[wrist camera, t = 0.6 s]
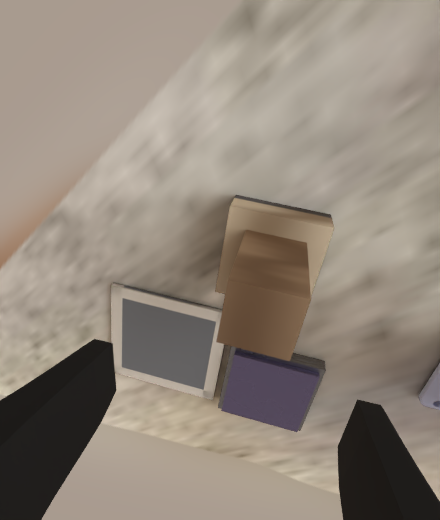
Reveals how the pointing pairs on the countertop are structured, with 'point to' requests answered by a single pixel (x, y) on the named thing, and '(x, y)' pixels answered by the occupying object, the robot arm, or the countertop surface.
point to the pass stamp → (269, 273)
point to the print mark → (165, 340)
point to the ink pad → (270, 387)
